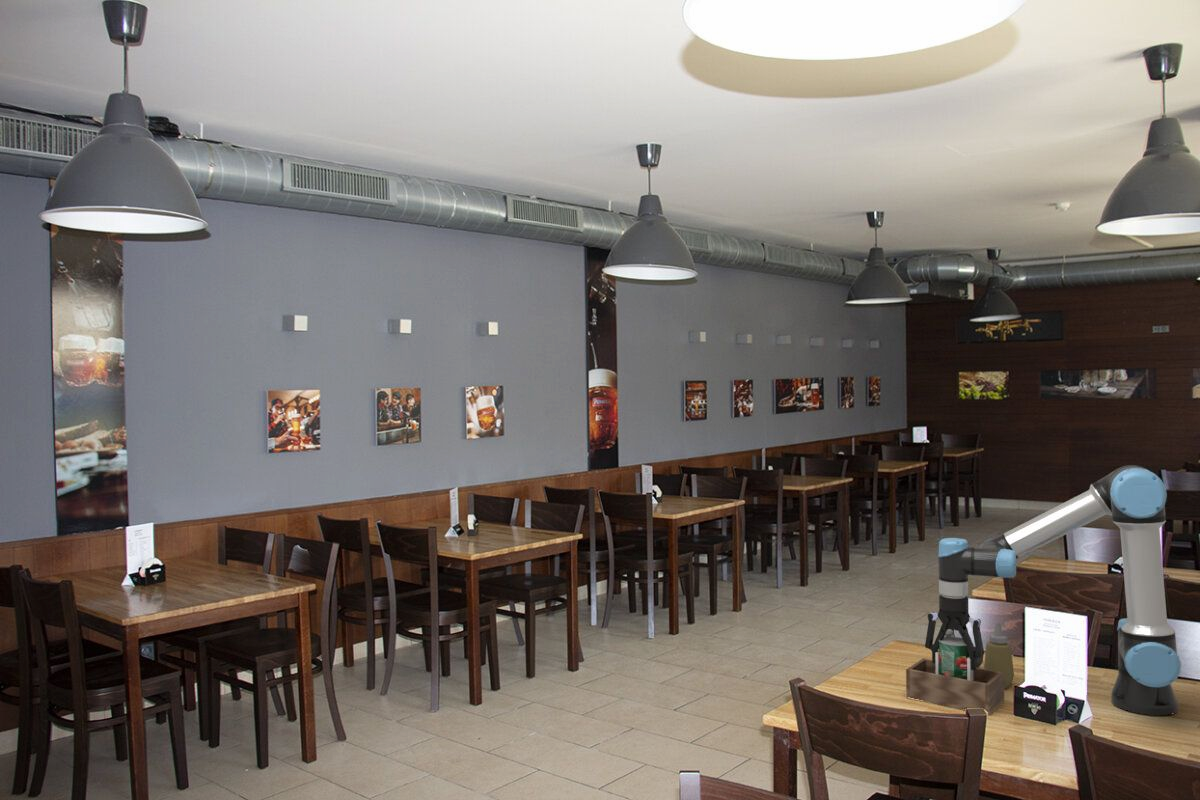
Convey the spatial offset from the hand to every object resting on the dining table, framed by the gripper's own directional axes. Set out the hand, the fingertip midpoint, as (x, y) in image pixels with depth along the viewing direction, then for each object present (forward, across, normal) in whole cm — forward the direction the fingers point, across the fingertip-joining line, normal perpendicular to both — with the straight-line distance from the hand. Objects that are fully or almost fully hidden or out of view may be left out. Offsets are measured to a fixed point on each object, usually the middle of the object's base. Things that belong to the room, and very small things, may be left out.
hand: (954, 677), depth 246 cm
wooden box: (+6, 0, 0) cm, 6 cm away
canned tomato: (+1, 0, 0) cm, 1 cm away
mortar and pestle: (+6, +6, -26) cm, 27 cm away
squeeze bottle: (+6, -6, -19) cm, 21 cm away
